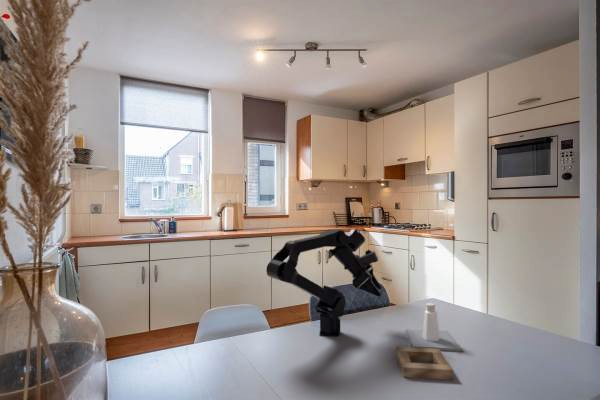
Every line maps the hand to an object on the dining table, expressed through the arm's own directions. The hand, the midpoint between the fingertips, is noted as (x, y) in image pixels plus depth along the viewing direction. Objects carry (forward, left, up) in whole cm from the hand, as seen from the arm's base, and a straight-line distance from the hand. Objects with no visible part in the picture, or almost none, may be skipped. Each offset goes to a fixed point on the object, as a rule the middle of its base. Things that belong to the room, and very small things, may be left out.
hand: (380, 291), depth 114 cm
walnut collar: (+8, -24, -14) cm, 29 cm away
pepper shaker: (+15, -6, -13) cm, 21 cm away
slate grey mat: (+15, -6, -14) cm, 21 cm away
